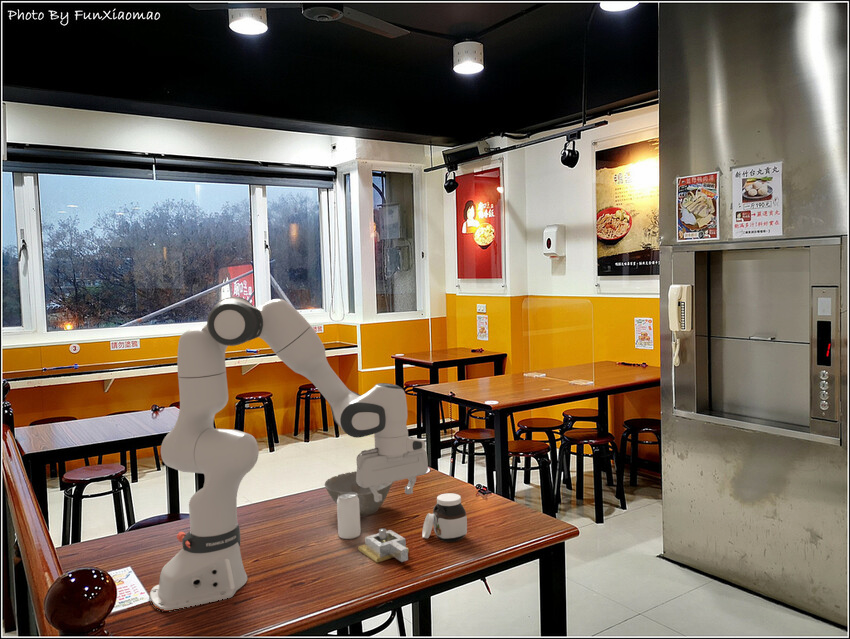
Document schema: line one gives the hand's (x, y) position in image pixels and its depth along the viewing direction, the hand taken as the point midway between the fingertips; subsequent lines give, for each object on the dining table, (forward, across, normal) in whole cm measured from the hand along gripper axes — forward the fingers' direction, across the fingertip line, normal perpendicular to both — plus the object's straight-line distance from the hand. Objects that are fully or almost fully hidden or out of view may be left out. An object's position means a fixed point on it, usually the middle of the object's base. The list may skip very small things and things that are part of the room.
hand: (393, 497), depth 165 cm
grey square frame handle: (+16, 0, +3) cm, 16 cm away
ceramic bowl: (+17, +10, +38) cm, 43 cm away
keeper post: (+17, 0, +7) cm, 18 cm away
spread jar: (+17, +18, +4) cm, 25 cm away
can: (+17, -2, +23) cm, 29 cm away
